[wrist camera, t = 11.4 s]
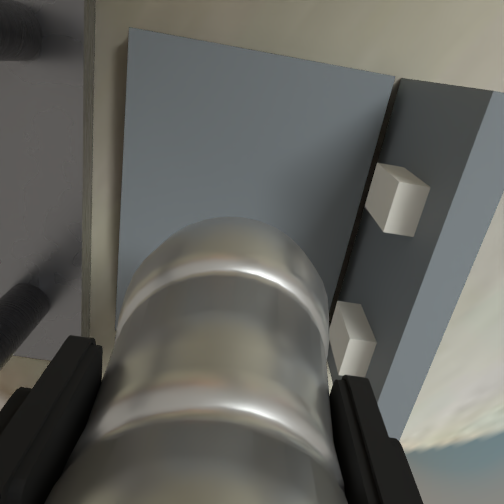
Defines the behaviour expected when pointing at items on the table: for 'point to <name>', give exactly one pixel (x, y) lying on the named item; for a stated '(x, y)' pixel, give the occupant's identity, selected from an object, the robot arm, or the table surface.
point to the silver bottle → (214, 379)
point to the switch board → (319, 186)
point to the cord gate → (45, 174)
